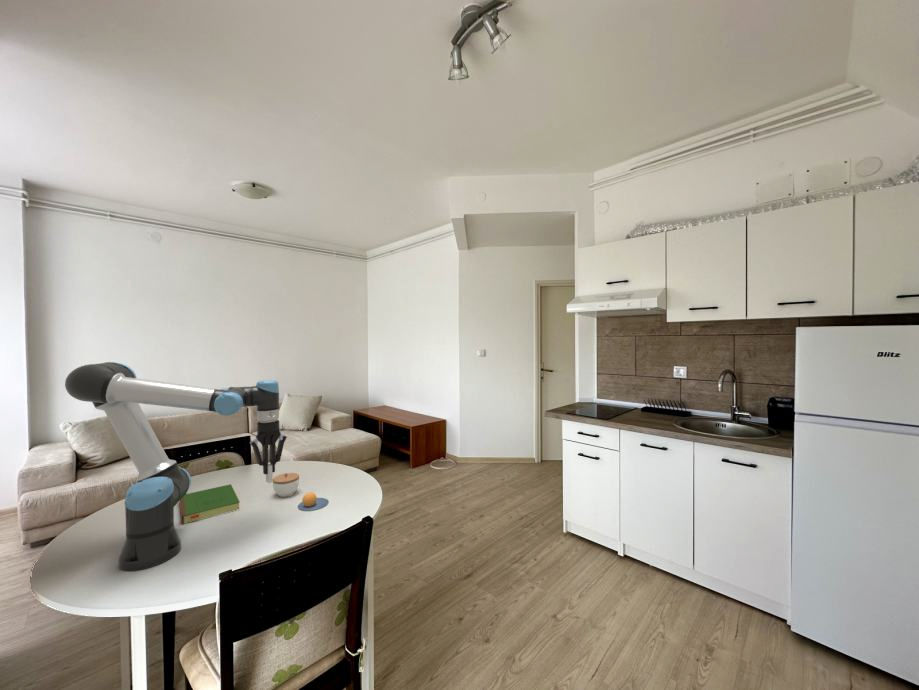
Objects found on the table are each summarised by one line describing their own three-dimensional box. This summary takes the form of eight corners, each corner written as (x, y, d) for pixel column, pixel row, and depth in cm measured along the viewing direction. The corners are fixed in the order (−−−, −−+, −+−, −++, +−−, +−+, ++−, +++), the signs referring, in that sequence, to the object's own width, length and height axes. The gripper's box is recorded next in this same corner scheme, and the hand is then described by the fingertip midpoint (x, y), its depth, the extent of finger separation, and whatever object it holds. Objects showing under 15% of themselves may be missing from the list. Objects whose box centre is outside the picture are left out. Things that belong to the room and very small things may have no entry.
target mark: (304, 514, 144) (304, 513, 144) (293, 504, 153) (293, 504, 153) (333, 504, 153) (333, 503, 153) (320, 495, 161) (320, 495, 161)
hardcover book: (179, 504, 155) (179, 495, 155) (231, 492, 167) (230, 484, 167) (182, 527, 136) (182, 517, 136) (240, 511, 148) (240, 502, 148)
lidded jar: (304, 489, 168) (303, 469, 168) (291, 499, 157) (290, 478, 157) (282, 489, 169) (281, 468, 169) (267, 499, 158) (267, 477, 158)
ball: (304, 509, 147) (307, 494, 148) (298, 504, 151) (301, 490, 152) (317, 507, 151) (320, 494, 152) (311, 503, 155) (314, 490, 155)
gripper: (252, 424, 133) (253, 489, 133) (289, 419, 142) (290, 479, 142) (246, 421, 138) (247, 483, 138) (282, 416, 147) (283, 474, 148)
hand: (269, 481), depth 140 cm, fingers closed
